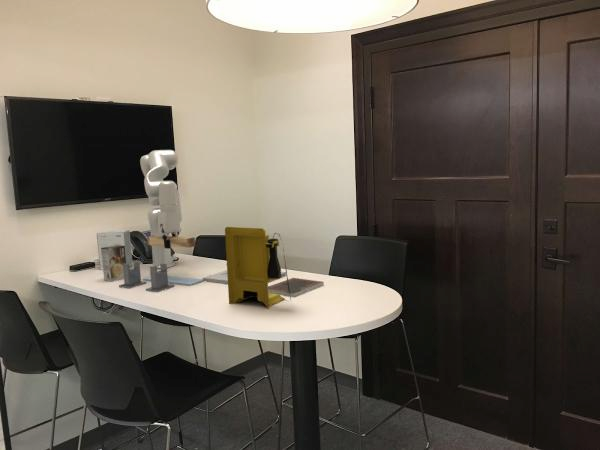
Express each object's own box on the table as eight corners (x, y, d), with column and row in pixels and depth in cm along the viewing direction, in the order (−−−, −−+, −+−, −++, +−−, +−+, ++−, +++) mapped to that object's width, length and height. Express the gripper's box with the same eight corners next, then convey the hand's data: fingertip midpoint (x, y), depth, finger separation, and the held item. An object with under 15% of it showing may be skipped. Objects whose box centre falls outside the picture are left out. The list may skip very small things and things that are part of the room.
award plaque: (236, 271, 252) (235, 267, 252) (286, 276, 237) (285, 272, 237) (202, 282, 231) (202, 277, 231) (255, 288, 216) (255, 283, 216)
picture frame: (293, 298, 199) (323, 286, 216) (293, 292, 198) (323, 281, 215) (262, 293, 208) (293, 282, 226) (261, 287, 208) (293, 277, 225)
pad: (158, 275, 247) (157, 274, 247) (205, 280, 232) (205, 279, 232) (142, 280, 238) (142, 278, 238) (190, 285, 224) (190, 284, 223)
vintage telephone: (305, 302, 191) (302, 224, 187) (286, 312, 179) (282, 229, 175) (239, 294, 207) (236, 221, 203) (218, 302, 195) (213, 226, 191)
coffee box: (120, 276, 249) (117, 244, 247) (128, 277, 245) (125, 245, 243) (103, 280, 242) (100, 247, 240) (111, 281, 238) (108, 248, 236)
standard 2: (162, 285, 227) (160, 262, 225) (174, 286, 223) (172, 263, 222) (145, 290, 218) (144, 267, 217) (157, 292, 214) (155, 268, 213)
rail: (154, 243, 241) (153, 235, 241) (195, 246, 228) (194, 237, 228) (147, 245, 238) (147, 236, 237) (189, 247, 225) (188, 238, 224)
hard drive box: (133, 266, 273) (130, 230, 271) (127, 269, 266) (124, 232, 263) (106, 266, 275) (103, 230, 273) (99, 269, 267) (96, 232, 265)
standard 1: (136, 282, 235) (134, 260, 234) (146, 283, 231) (145, 261, 230) (118, 287, 226) (117, 264, 225) (129, 288, 223) (127, 265, 222)
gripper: (175, 206, 240) (177, 244, 242) (148, 210, 226) (151, 250, 228) (187, 206, 236) (189, 245, 239) (161, 210, 222) (164, 250, 224)
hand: (171, 247), depth 233 cm, fingers closed on rail, 4 cm apart
